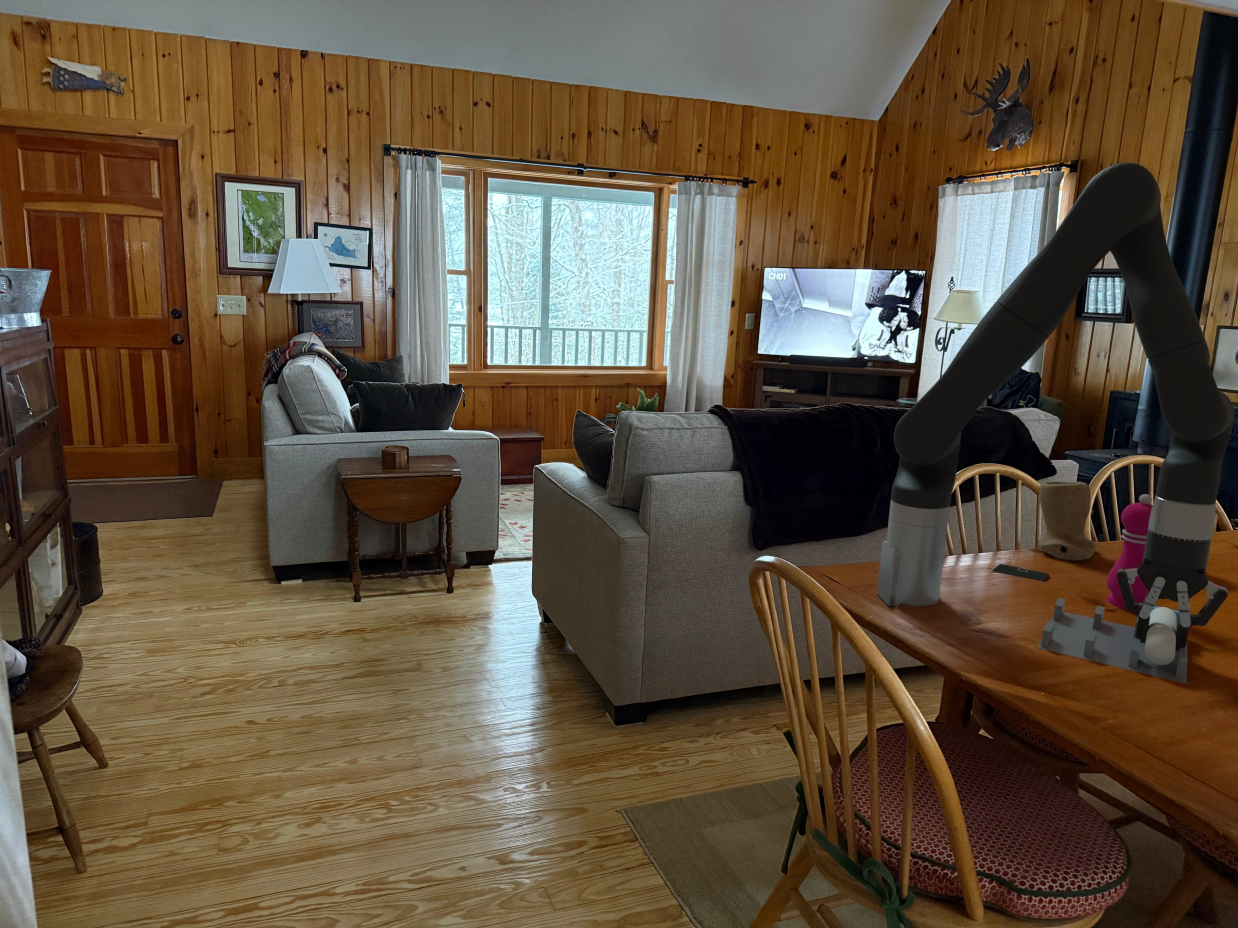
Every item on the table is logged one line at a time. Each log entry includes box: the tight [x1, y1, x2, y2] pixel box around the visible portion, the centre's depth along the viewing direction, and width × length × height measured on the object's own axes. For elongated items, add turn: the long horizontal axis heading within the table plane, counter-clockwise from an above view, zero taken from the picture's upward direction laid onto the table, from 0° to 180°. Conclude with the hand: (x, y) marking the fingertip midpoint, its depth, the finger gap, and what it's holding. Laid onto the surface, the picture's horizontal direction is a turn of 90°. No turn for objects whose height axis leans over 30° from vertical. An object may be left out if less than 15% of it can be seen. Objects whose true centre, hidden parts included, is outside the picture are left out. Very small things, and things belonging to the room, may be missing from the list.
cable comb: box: [1037, 597, 1189, 684], centre depth 123 cm, size 19×18×5 cm
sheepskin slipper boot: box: [1039, 480, 1097, 561], centre depth 172 cm, size 15×12×15 cm
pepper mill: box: [1106, 493, 1153, 610], centre depth 139 cm, size 7×7×20 cm
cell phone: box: [991, 563, 1050, 583], centre depth 153 cm, size 9×18×1 cm, turn 142°
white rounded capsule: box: [1144, 606, 1177, 665], centre depth 120 cm, size 16×4×4 cm, turn 146°
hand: (1159, 644), depth 120 cm, fingers closed on white rounded capsule, 3 cm apart
